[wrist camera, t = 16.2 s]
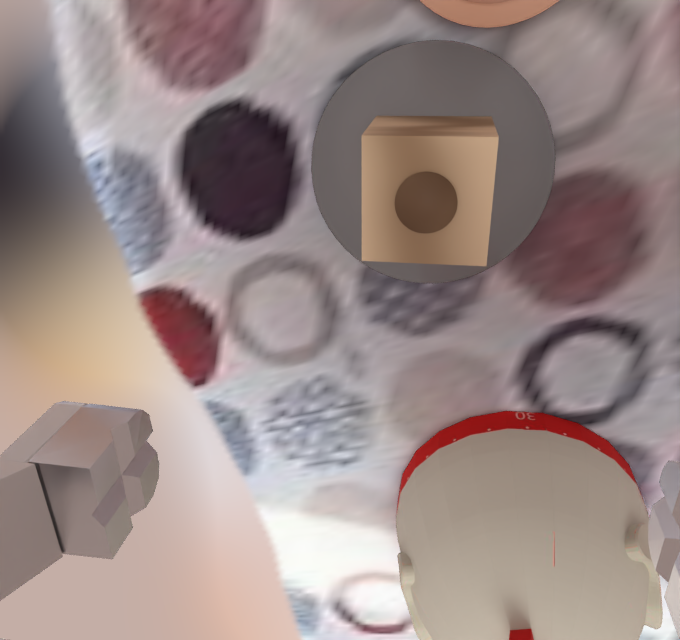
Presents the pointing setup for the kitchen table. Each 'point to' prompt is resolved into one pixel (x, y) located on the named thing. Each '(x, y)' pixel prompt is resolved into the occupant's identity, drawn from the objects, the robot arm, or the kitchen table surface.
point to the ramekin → (488, 11)
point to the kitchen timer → (524, 534)
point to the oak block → (428, 189)
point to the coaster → (436, 100)
